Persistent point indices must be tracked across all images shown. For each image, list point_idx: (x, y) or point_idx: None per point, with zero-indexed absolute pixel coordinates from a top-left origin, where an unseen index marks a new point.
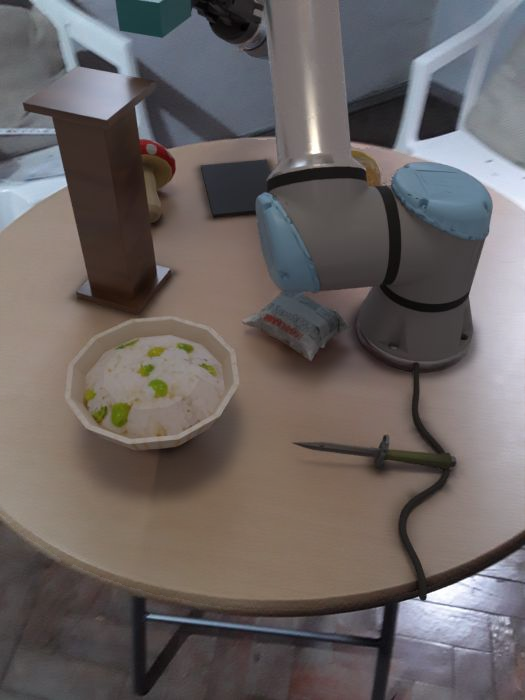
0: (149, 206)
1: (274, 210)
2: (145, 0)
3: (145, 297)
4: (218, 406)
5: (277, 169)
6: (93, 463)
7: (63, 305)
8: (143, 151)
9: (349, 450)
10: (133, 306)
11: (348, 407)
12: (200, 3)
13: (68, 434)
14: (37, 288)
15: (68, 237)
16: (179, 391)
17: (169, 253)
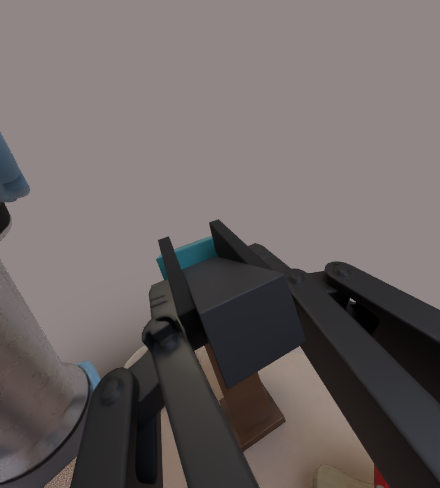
0: (315, 477)
1: (81, 362)
2: (176, 248)
3: (223, 411)
4: (128, 366)
5: (71, 366)
6: None
7: (258, 372)
8: (376, 480)
9: None
10: (223, 399)
11: (71, 472)
12: (394, 476)
13: (196, 353)
14: (280, 365)
15: (334, 401)
16: (142, 355)
17: (263, 480)
